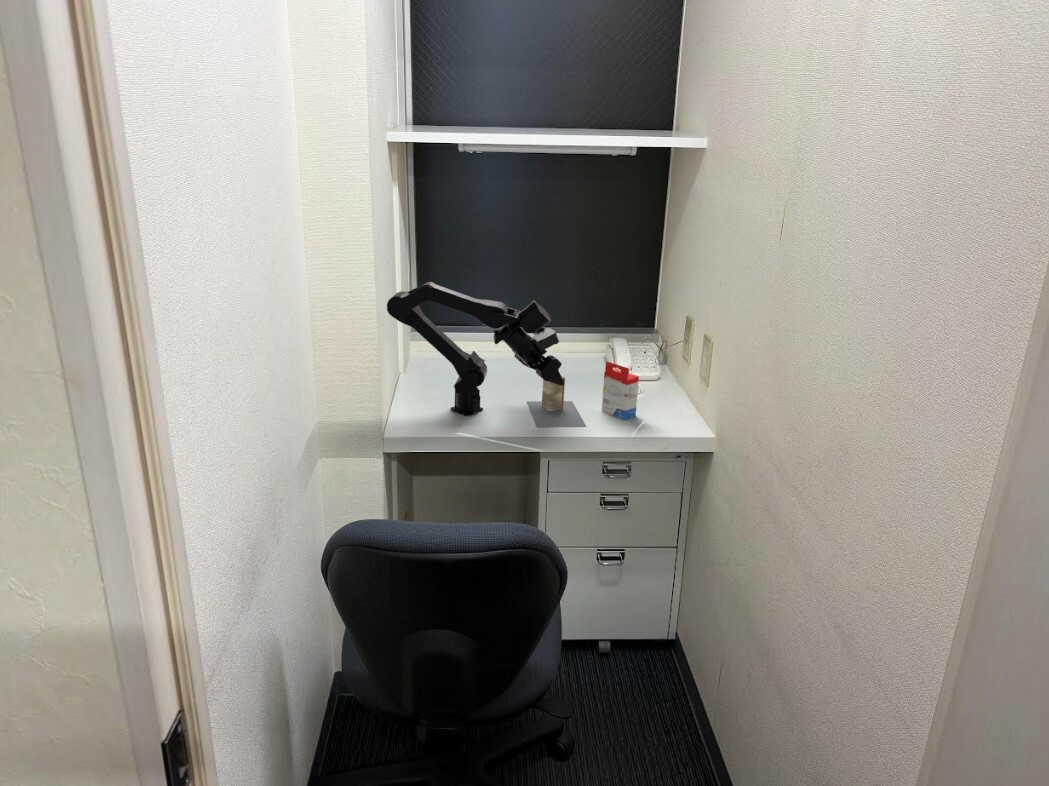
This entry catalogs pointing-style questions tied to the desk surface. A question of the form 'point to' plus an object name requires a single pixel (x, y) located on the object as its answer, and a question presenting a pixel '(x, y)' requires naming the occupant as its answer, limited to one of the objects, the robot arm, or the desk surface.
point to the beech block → (553, 395)
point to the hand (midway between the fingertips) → (555, 378)
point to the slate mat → (555, 415)
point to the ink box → (619, 391)
